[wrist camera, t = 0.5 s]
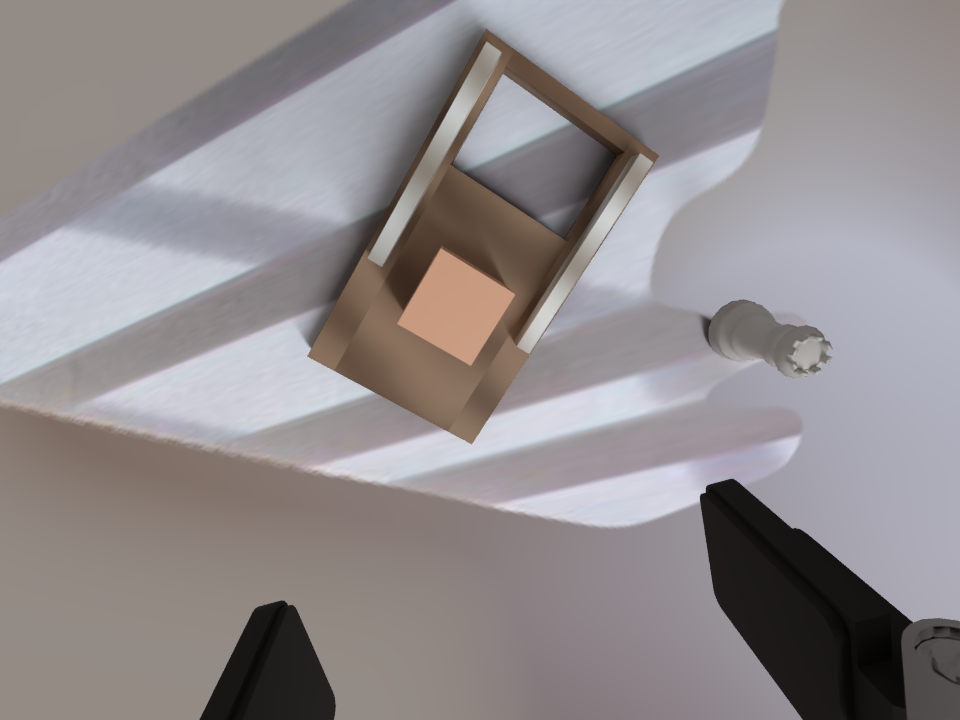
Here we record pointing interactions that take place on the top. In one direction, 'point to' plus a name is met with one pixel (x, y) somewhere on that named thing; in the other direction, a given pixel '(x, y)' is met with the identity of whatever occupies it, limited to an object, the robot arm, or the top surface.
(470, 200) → the tan rectangular frame
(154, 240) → the top surface
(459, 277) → the block
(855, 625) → the robot arm
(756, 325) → the rook chess piece
